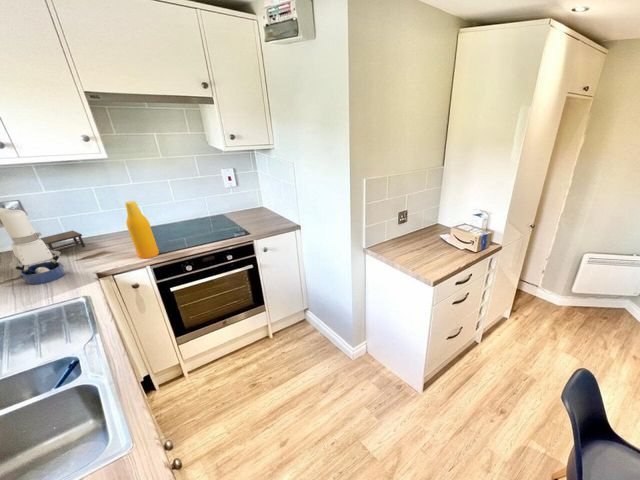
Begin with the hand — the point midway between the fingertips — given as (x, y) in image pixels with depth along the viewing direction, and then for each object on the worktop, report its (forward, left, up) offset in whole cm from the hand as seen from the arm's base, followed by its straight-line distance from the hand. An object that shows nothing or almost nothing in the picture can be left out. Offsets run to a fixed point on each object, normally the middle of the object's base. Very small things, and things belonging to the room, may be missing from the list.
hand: (43, 273), depth 147 cm
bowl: (0, 0, -2) cm, 2 cm away
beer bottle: (+37, -13, -2) cm, 39 cm away
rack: (+17, +25, -2) cm, 30 cm away
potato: (0, 0, -1) cm, 1 cm away
